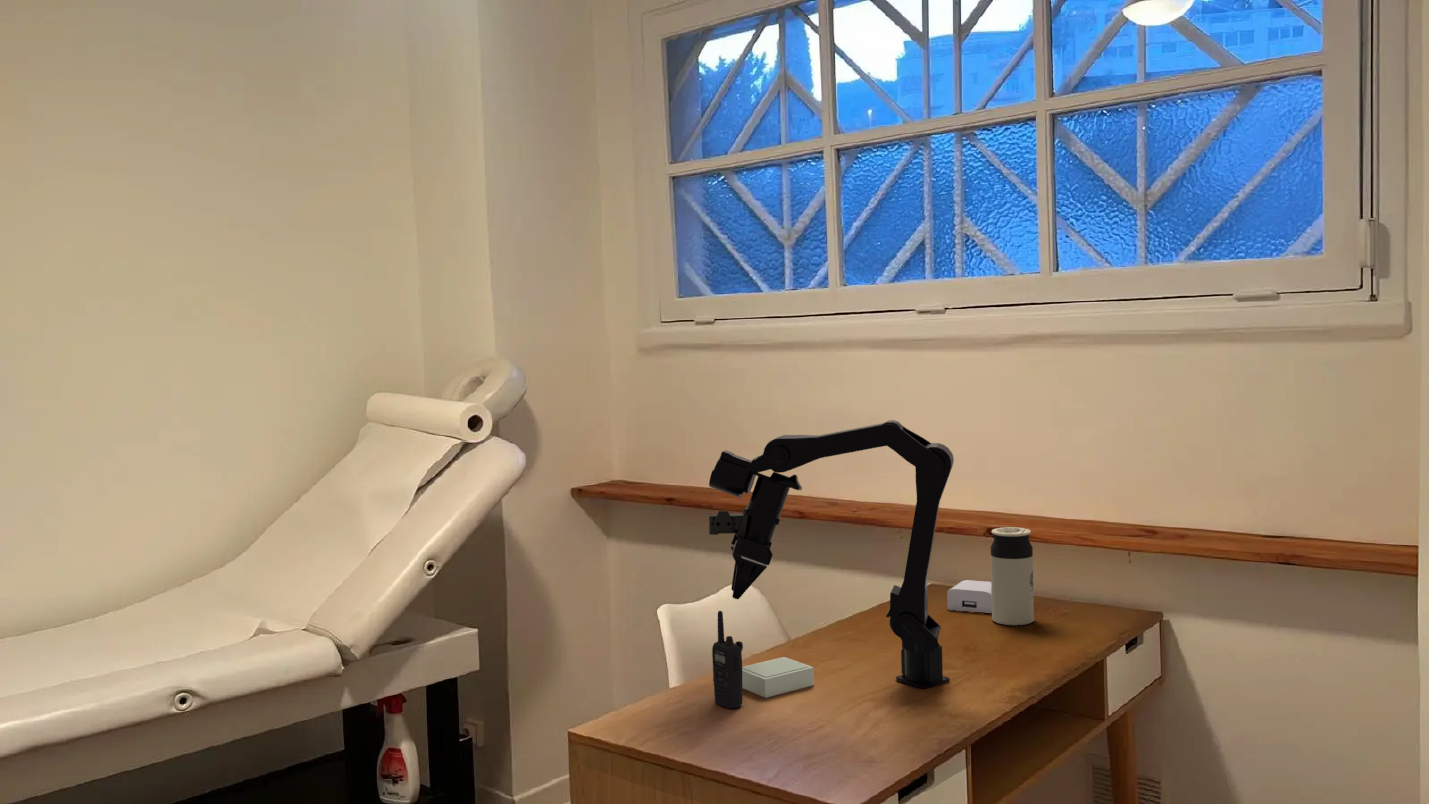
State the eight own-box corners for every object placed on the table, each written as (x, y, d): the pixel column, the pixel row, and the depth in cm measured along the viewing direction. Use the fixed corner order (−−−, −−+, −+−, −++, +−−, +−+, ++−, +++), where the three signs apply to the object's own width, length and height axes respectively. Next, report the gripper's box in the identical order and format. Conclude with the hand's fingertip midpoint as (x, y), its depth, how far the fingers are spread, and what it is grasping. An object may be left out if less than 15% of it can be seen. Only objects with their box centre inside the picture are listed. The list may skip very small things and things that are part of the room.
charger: (1012, 598, 247) (991, 615, 234) (969, 595, 251) (947, 611, 238) (1011, 576, 246) (991, 592, 233) (969, 573, 251) (946, 588, 238)
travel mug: (986, 623, 227) (984, 532, 225) (999, 614, 233) (997, 525, 232) (1026, 628, 222) (1025, 535, 221) (1038, 618, 229) (1037, 528, 228)
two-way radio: (709, 703, 185) (706, 610, 184) (732, 697, 188) (728, 605, 187) (731, 711, 180) (727, 616, 179) (753, 705, 183) (750, 611, 182)
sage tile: (814, 685, 192) (813, 666, 192) (765, 697, 187) (765, 678, 186) (784, 674, 199) (784, 656, 199) (737, 685, 193) (736, 667, 193)
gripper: (719, 488, 206) (690, 572, 205) (720, 494, 187) (688, 586, 187) (779, 509, 206) (749, 593, 205) (786, 517, 187) (753, 609, 187)
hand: (734, 594), depth 196 cm, fingers open, 9 cm apart
